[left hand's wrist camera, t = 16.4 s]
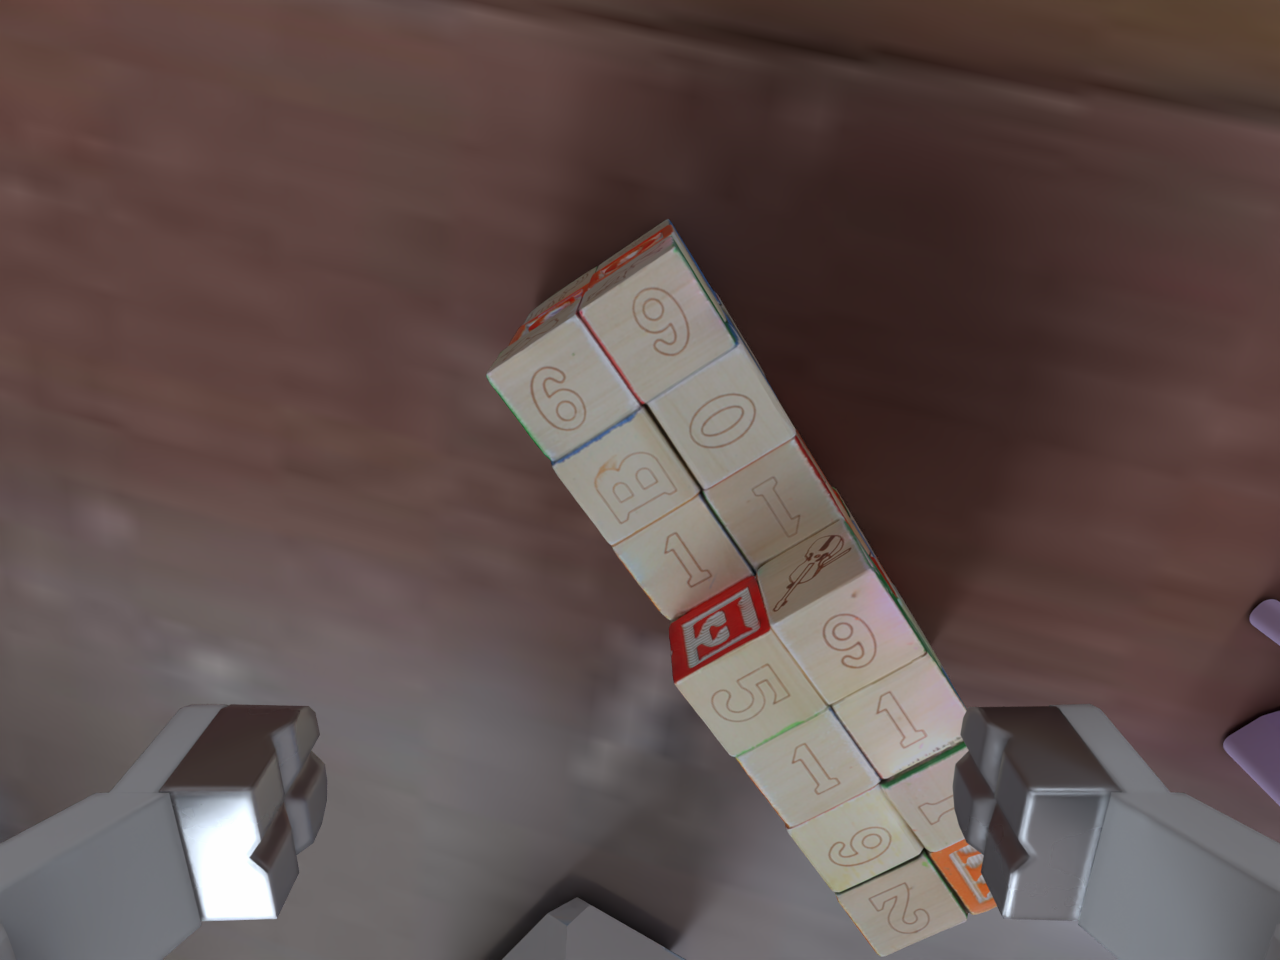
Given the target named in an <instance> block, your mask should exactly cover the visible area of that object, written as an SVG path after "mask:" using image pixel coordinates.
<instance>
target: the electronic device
mask: <svg viewBox="0 0 1280 960" xmlns="http://www.w3.org/2000/svg"><path fill="white" fill-rule="evenodd" d="M502 960H686V959H684V958H682V957H680V956H679V955H677V954H675V953H674V952H672V951H670V950H668V949H667V948H665V947H663V946H661V945H660V944H658V943H656V942H654V941H653V940H651V939H649V938H647V937H646V936H644V935H642V934H641V933H639V932H637V931H635V930H634V929H632V928H630V927H628V926H627V925H625V924H623V923H621V922H620V921H618V920H616V919H614V918H613V917H611V916H609V915H607V914H606V913H604V912H602V911H601V910H599V909H597V908H595V907H594V906H592V905H590V904H588V903H587V902H585V901H583V900H581V899H580V898H578V897H576V898H574V899H573V900H571V901H569V902H567V903H565V904H563V905H562V906H560V907H558V908H556V909H554V910H553V911H551V912H549V913H547V914H546V915H545V916H544V917H543V918H542V919H541V920H540V921H539V922H538V923H537V925H536V926H535V927H534V928H533V929H532V930H531V931H530V932H529V933H528V934H527V935H526V936H525V937H524V938H523V939H522V940H521V941H520V942H519V943H518V944H517V945H516V946H515V947H514V948H513V949H512V950H511V951H510V952H509V953H508V954H507V955H506V956H505V957H504V958H503V959H502Z"/></svg>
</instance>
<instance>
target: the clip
mask: <svg viewBox="0 0 1280 960" xmlns="http://www.w3.org/2000/svg"><path fill="white" fill-rule="evenodd" d="M1250 622H1251V624H1252V625H1253V626H1254V627H1256V628H1257V629H1258V630H1260V631H1261V632H1262V633H1264V634H1265V635H1266V636H1268V637H1269V638H1270V639H1272V640H1273V641H1274V642H1275V643H1277V644H1278V645H1279V646H1280V602H1279V601H1277V600H1274V599H1269V600H1266V601H1263V602H1262V603H1260V604H1259V605H1258V606H1257V607H1256V608H1255V609H1254V610H1253V611H1252V613H1251V614H1250ZM1223 747H1224V749H1225V751H1226V752H1227V753H1228V754H1229V755H1230V756H1231V757H1232V758H1233V759H1234V760H1235V761H1236V762H1237V763H1238V764H1239V765H1240V766H1241V767H1242V768H1243V769H1244V770H1245V771H1246V772H1247V773H1248V774H1249V775H1250V776H1251V777H1252V778H1253V779H1254V780H1255V781H1256V782H1257V783H1258V785H1259V786H1260V787H1261V788H1262V789H1263V790H1264V791H1265V792H1266V793H1267V794H1268V795H1269V796H1270V797H1271V798H1272V799H1273V800H1274V801H1275V802H1276V803H1277V804H1278V805H1279V806H1280V711H1276V712H1273V713H1270V714H1267V715H1263V716H1261V717H1259V718H1257V719H1256V720H1254V721H1253V722H1251V723H1249V724H1248V725H1246V726H1244V727H1243V728H1241V729H1239V730H1238V731H1236V732H1234V733H1233V734H1231V735H1230V736H1228V737H1227V738H1226V739H1225V741H1224V743H1223Z"/></svg>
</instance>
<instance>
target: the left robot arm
mask: <svg viewBox="0 0 1280 960" xmlns="http://www.w3.org/2000/svg"><path fill="white" fill-rule="evenodd" d="M319 735H320V733H319V728H318V723H317V718H316V713H315V712H314V711H313V710H312V709H311V708H310V707H309V706H276V705H225V704H191V705H188V706H186V707H183V708H180V709H179V711H178V712H177V713H176V714H175V715H174V716H173V718H172V719H171V720H170V721H169V722H168V723H167V725H166V726H165V727H164V728H163V729H162V731H161V732H160V733H159V734H158V735H157V737H156V738H155V739H154V740H153V741H152V742H151V744H150V745H149V746H148V747H147V748H146V750H145V751H144V752H143V753H142V754H141V755H140V757H139V758H138V759H137V760H136V761H135V763H134V764H133V765H132V766H131V767H130V769H129V770H128V771H127V772H126V773H125V774H124V776H123V777H122V778H121V779H120V780H119V782H118V783H117V784H116V785H115V786H114V788H113V789H112V790H111V791H110V792H109V793H95V794H93V795H91V796H89V797H87V798H85V799H83V800H81V801H80V802H78V803H76V804H74V805H72V806H70V807H68V808H66V809H64V810H62V811H61V812H59V813H57V814H55V815H53V816H51V817H49V818H47V819H45V820H44V821H42V822H40V823H38V824H36V825H34V826H32V827H30V828H28V829H27V830H25V831H23V832H21V833H19V834H17V835H15V836H13V837H11V838H9V839H8V840H6V841H4V842H2V843H0V960H162V959H163V958H164V957H166V956H167V955H168V954H169V953H170V952H171V951H172V950H174V949H175V948H176V947H177V946H178V945H179V944H181V943H182V942H183V941H184V940H185V939H186V938H187V937H189V936H190V935H191V934H192V933H193V932H194V931H196V930H197V929H198V928H199V927H200V926H201V925H202V923H201V921H218V920H252V919H277V917H278V915H279V913H280V911H281V909H282V907H283V905H284V903H285V901H286V899H287V897H288V895H289V892H290V890H291V888H292V886H293V884H294V882H295V880H296V878H297V876H298V874H299V868H298V862H297V857H296V855H297V854H299V853H300V852H301V851H303V850H304V849H306V848H307V847H308V846H310V845H311V844H312V843H313V842H314V840H315V838H316V836H317V833H318V831H319V829H320V827H321V825H322V821H323V816H324V811H325V807H326V802H327V776H326V769H325V764H324V763H323V762H322V761H321V760H320V759H319V758H318V757H317V756H316V755H315V754H314V753H313V752H312V751H311V750H312V748H313V746H314V744H315V743H316V741H317V739H318V737H319ZM960 735H961V737H962V739H963V741H964V743H965V744H966V746H967V748H968V750H969V751H968V752H967V753H966V754H965V755H964V756H963V757H962V758H961V759H960V760H959V761H958V762H957V763H956V764H955V770H954V778H953V786H952V787H953V799H954V810H955V813H956V817H957V820H958V824H959V827H960V829H961V831H962V834H963V836H964V838H965V840H966V842H967V843H968V844H969V845H970V846H972V847H973V848H974V849H976V850H977V851H979V852H980V853H981V854H983V855H984V857H983V862H982V868H981V874H982V876H983V878H984V880H985V882H986V884H987V886H988V888H989V890H990V892H991V894H992V896H993V899H994V901H995V903H996V905H997V907H998V909H999V911H1000V913H1001V915H1002V917H1003V919H1026V920H1061V921H1079V923H1078V925H1079V926H1080V927H1081V928H1083V929H1084V930H1085V931H1086V932H1087V933H1088V934H1090V935H1091V936H1092V937H1093V938H1094V939H1095V940H1096V941H1098V942H1099V943H1100V944H1101V945H1102V946H1103V947H1104V948H1106V949H1107V950H1108V951H1109V952H1110V953H1111V954H1113V955H1114V956H1115V957H1116V958H1117V959H1118V960H1280V843H1278V842H1276V841H1274V840H1272V839H1270V838H1268V837H1267V836H1265V835H1263V834H1261V833H1259V832H1257V831H1255V830H1253V829H1251V828H1250V827H1248V826H1246V825H1244V824H1242V823H1240V822H1238V821H1236V820H1234V819H1233V818H1231V817H1229V816H1227V815H1225V814H1223V813H1221V812H1219V811H1217V810H1216V809H1214V808H1212V807H1210V806H1208V805H1206V804H1204V803H1202V802H1200V801H1199V800H1197V799H1195V798H1193V797H1191V796H1189V795H1187V794H1185V793H1171V792H1170V791H1169V790H1168V789H1167V788H1166V786H1165V785H1164V784H1163V783H1162V782H1161V780H1160V779H1159V778H1158V777H1157V776H1156V775H1155V773H1154V772H1153V771H1152V770H1151V769H1150V767H1149V766H1148V765H1147V764H1146V763H1145V762H1144V760H1143V759H1142V758H1141V757H1140V756H1139V754H1138V753H1137V752H1136V751H1135V750H1134V748H1133V747H1132V746H1131V745H1130V744H1129V743H1128V741H1127V740H1126V739H1125V738H1124V737H1123V735H1122V734H1121V733H1120V732H1119V731H1118V730H1117V728H1116V727H1115V726H1114V725H1113V724H1112V722H1111V721H1110V720H1109V719H1108V718H1107V717H1106V715H1105V714H1104V713H1103V712H1102V711H1101V709H1099V708H1097V707H1095V706H1093V705H1091V704H1070V705H1049V706H1031V707H968V709H967V711H966V713H965V715H964V717H963V721H962V727H961V733H960Z"/></svg>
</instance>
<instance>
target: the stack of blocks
mask: <svg viewBox="0 0 1280 960" xmlns="http://www.w3.org/2000/svg"><path fill="white" fill-rule="evenodd" d="M486 377H487V379H488V380H489V382H490V384H491V385H492V387H493V388H494V389H495V390H496V392H497V393H498V394H499V396H500V397H501V398H502V400H503V401H504V402H505V404H506V405H507V406H508V408H509V409H510V410H511V412H512V413H513V414H514V415H515V417H516V418H517V419H518V421H519V422H520V423H521V425H522V426H523V427H524V429H525V430H526V432H527V433H528V434H529V436H530V437H531V438H532V440H533V441H534V442H535V443H536V445H537V446H538V447H539V448H540V449H541V451H542V452H543V453H544V455H545V456H547V457H548V458H549V459H550V460H551V463H552V468H553V469H554V471H555V472H556V474H557V476H558V477H559V478H560V480H561V481H562V482H563V483H564V485H565V486H566V487H567V489H568V490H569V491H570V493H571V494H572V495H573V497H574V498H575V500H576V501H577V502H578V504H579V505H580V506H581V507H582V509H583V510H584V511H585V513H586V514H587V515H588V517H589V518H590V519H591V521H592V522H593V523H594V524H595V526H596V527H597V528H598V530H599V531H600V533H601V534H602V535H603V537H604V538H605V539H606V541H607V542H608V543H609V544H610V545H611V546H612V548H613V550H614V552H615V553H616V555H617V557H618V558H619V559H620V561H621V562H622V563H623V564H624V566H625V567H626V569H627V570H628V571H629V573H630V574H631V575H632V577H633V578H634V579H635V580H636V582H637V583H638V584H639V585H640V587H641V588H642V589H643V590H644V592H645V593H646V594H647V596H648V597H649V598H650V600H651V601H652V602H653V603H654V605H655V606H656V607H657V609H658V610H659V611H660V612H661V613H662V614H663V615H664V616H665V617H666V618H668V619H669V620H670V627H669V639H670V646H671V660H672V672H673V680H674V684H675V685H676V687H677V688H678V689H679V691H680V692H681V693H682V695H683V696H684V697H685V698H686V700H687V701H688V702H689V703H690V705H691V706H692V707H693V709H694V710H695V711H696V712H697V714H698V715H699V716H700V717H701V719H702V720H703V721H704V722H705V724H706V725H707V726H708V728H709V729H710V730H711V732H712V733H713V734H714V736H715V737H716V738H717V739H718V741H719V742H720V743H721V745H722V746H723V747H724V748H725V750H726V751H727V752H728V754H729V755H730V756H733V757H735V758H736V759H737V760H738V762H739V763H740V765H741V766H742V768H743V769H744V770H745V772H746V773H747V775H748V776H749V777H750V779H751V780H752V781H753V782H754V784H755V785H756V786H757V788H758V789H759V790H760V792H761V793H762V794H763V795H764V796H765V797H766V799H767V800H768V802H769V803H770V804H771V806H772V807H773V808H774V810H775V811H776V812H777V814H778V815H779V816H780V817H781V819H782V820H783V821H784V823H785V827H786V829H787V831H788V833H789V834H790V836H791V837H792V839H793V840H794V841H795V843H796V844H797V845H798V847H799V848H800V849H801V851H802V852H803V853H804V854H805V856H806V857H807V858H808V860H809V861H810V862H811V864H812V865H813V866H814V868H815V869H816V870H817V872H818V873H819V874H820V876H821V877H822V878H823V879H824V881H825V882H826V883H827V885H828V886H829V887H830V889H831V890H832V891H833V892H835V894H836V897H837V899H838V902H839V903H840V904H841V906H842V907H843V908H844V910H845V911H846V912H847V914H848V915H849V917H850V918H851V919H852V921H853V922H854V923H855V925H856V926H857V928H858V929H859V930H860V932H861V933H862V934H863V936H864V937H865V938H866V940H867V941H868V943H869V944H870V945H871V947H872V948H873V949H874V951H875V952H876V953H877V954H878V955H879V956H887V955H889V954H891V953H893V952H896V951H898V950H900V949H902V948H904V947H907V946H909V945H911V944H914V943H916V942H918V941H920V940H923V939H925V938H927V937H930V936H932V935H934V934H937V933H939V932H941V931H943V930H946V929H948V928H951V927H953V926H956V925H959V924H961V923H963V922H965V921H967V915H968V913H969V912H970V913H971V914H972V915H976V914H980V913H983V912H986V911H988V910H990V909H992V908H994V907H996V906H997V905H996V903H995V901H994V899H993V896H992V894H991V892H990V890H989V888H988V886H987V884H986V882H985V880H984V878H983V876H982V874H981V868H982V862H983V857H984V855H983V854H981V853H980V852H979V851H977V850H976V849H974V848H973V847H972V846H970V845H969V844H968V843H967V842H966V840H965V838H964V836H963V834H962V831H961V829H960V827H959V824H958V820H957V817H956V813H955V810H954V799H953V787H952V786H953V778H954V770H955V764H956V763H957V762H958V761H959V760H960V759H961V758H962V757H963V756H964V755H965V754H966V753H967V752H968V751H969V750H968V748H967V746H966V744H965V743H964V741H963V739H962V737H961V735H960V733H961V727H962V721H963V717H964V715H965V713H966V711H967V709H966V707H965V705H964V704H963V702H962V701H961V699H960V697H959V696H958V694H957V692H956V690H955V689H954V687H953V685H952V683H951V681H950V678H949V676H948V675H947V673H946V671H945V670H944V668H943V666H942V664H941V663H940V661H939V659H938V658H937V656H936V654H935V652H934V651H933V649H932V647H931V646H930V644H929V642H928V640H927V639H926V637H925V635H924V634H923V632H922V630H921V629H920V627H919V625H918V624H917V622H916V620H915V619H914V617H913V615H912V614H911V612H910V611H909V609H908V607H907V606H906V604H905V602H904V601H903V599H902V597H901V596H900V594H899V593H898V591H897V589H896V588H895V586H894V585H893V584H892V582H891V580H890V579H889V577H888V575H887V574H886V572H885V570H884V569H883V567H882V566H881V564H880V562H879V561H878V559H877V557H876V556H875V554H874V552H873V550H872V549H871V547H870V545H869V543H868V542H867V540H866V538H865V537H864V535H863V533H862V531H861V530H860V528H859V526H858V525H857V523H856V521H855V520H854V518H853V516H852V515H851V513H850V511H849V510H848V508H847V506H846V505H845V503H844V501H843V500H842V498H841V496H840V495H839V493H838V491H837V490H836V489H835V488H834V487H832V486H830V484H829V482H828V481H827V479H826V477H825V476H824V474H823V472H822V471H821V469H820V468H819V466H818V464H817V463H816V461H815V459H814V458H813V456H812V455H811V453H810V451H809V450H808V448H807V446H806V445H805V443H804V441H803V440H802V438H801V436H800V435H799V433H798V431H797V430H796V429H795V427H794V426H793V424H792V422H791V421H790V419H789V417H788V416H787V414H786V413H785V411H784V409H783V408H782V406H781V404H780V403H779V400H778V399H777V397H776V395H775V393H774V391H773V390H772V388H771V386H770V385H769V383H768V381H767V379H766V378H765V374H764V372H763V370H762V369H761V367H760V365H759V363H758V361H757V360H756V358H755V356H754V355H753V353H752V351H751V350H750V348H749V346H748V345H747V343H746V341H745V340H744V338H743V336H742V335H741V333H740V331H739V330H738V328H737V326H736V325H735V323H734V321H733V320H732V318H731V316H730V315H729V313H728V311H727V310H726V308H725V306H724V305H723V303H722V301H721V300H720V298H719V296H718V295H717V293H716V292H714V291H713V290H712V288H711V286H710V285H709V283H708V282H707V280H706V278H705V277H704V275H703V273H702V271H701V270H700V268H699V266H698V265H697V263H696V262H695V260H694V258H693V257H692V255H691V253H690V252H689V250H688V248H687V247H686V245H685V244H684V242H683V240H682V239H681V237H680V236H679V234H678V232H677V231H676V229H675V227H674V226H673V224H672V222H671V221H670V220H669V219H667V220H665V221H663V222H662V223H660V224H659V225H657V226H656V227H655V228H653V229H652V230H650V231H649V232H647V233H646V234H644V235H643V236H641V237H640V238H638V239H637V240H635V241H634V242H632V243H631V244H629V245H628V246H626V247H625V248H623V249H622V250H620V251H619V252H618V253H616V254H615V255H613V256H612V257H610V258H609V259H607V260H606V261H604V262H603V263H601V264H600V265H599V266H597V267H595V268H593V269H591V270H590V271H588V272H587V273H585V274H584V275H582V276H581V277H579V278H578V279H576V280H575V281H573V282H572V283H570V284H569V285H567V286H566V287H564V288H563V289H561V290H560V291H558V292H557V293H556V294H554V295H553V296H551V297H550V298H549V299H547V300H546V301H544V302H543V303H542V304H541V305H539V306H538V307H537V308H535V309H534V310H533V311H532V312H531V313H530V314H529V315H528V317H527V318H526V320H525V322H524V324H523V325H522V326H521V327H520V328H518V330H517V332H516V334H515V335H514V337H513V338H512V340H511V342H510V344H509V346H508V347H507V348H506V349H504V350H503V351H502V352H501V353H500V355H499V356H498V358H497V359H496V360H495V362H494V363H493V365H492V366H491V367H490V369H489V370H488V372H487V375H486Z"/></svg>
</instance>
